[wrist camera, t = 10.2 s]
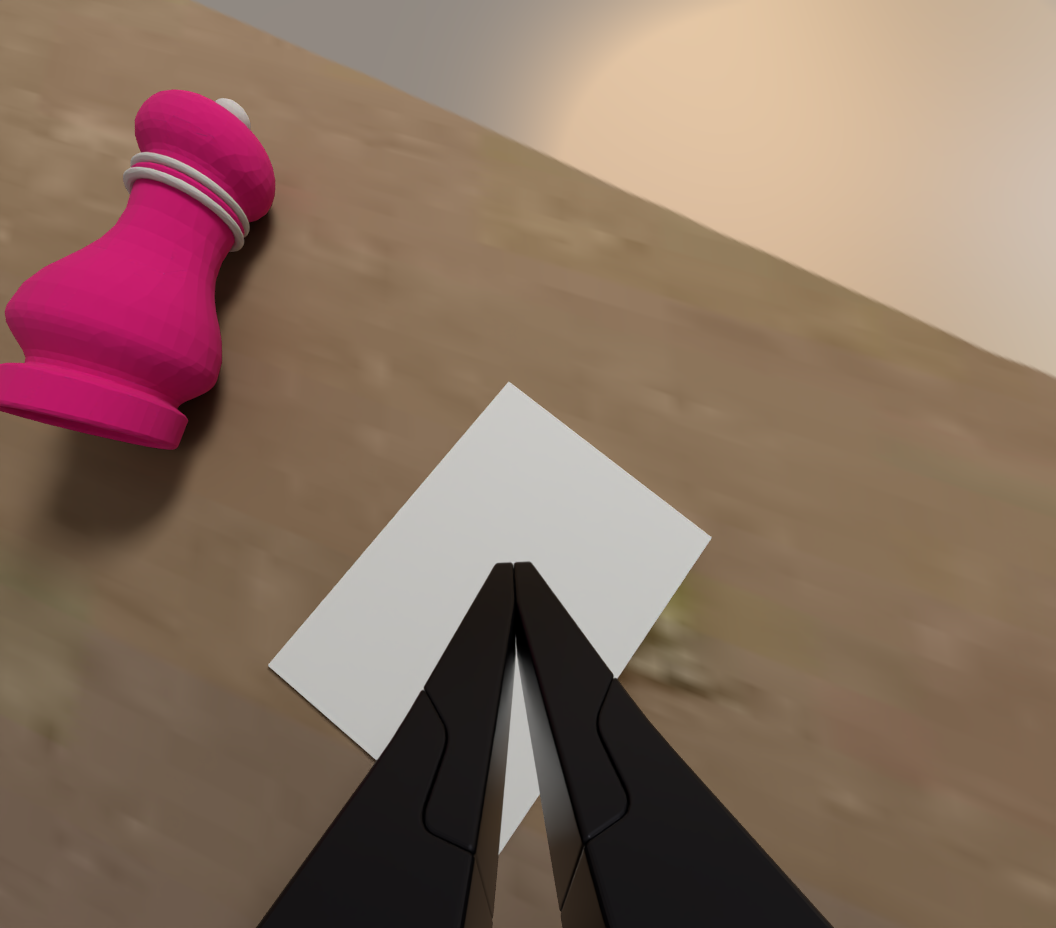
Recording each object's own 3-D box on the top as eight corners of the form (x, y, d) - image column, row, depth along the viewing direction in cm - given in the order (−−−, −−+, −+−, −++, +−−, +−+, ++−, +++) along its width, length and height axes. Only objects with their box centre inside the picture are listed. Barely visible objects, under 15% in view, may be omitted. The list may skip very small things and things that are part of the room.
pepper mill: (-86, 381, 13) (149, -21, 17) (-8, 413, 18) (157, 100, 23) (189, 447, 17) (319, 116, 22) (187, 457, 23) (292, 189, 27)
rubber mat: (493, 859, 19) (493, 862, 19) (270, 664, 20) (267, 665, 20) (710, 537, 22) (711, 537, 22) (508, 382, 23) (508, 381, 23)
